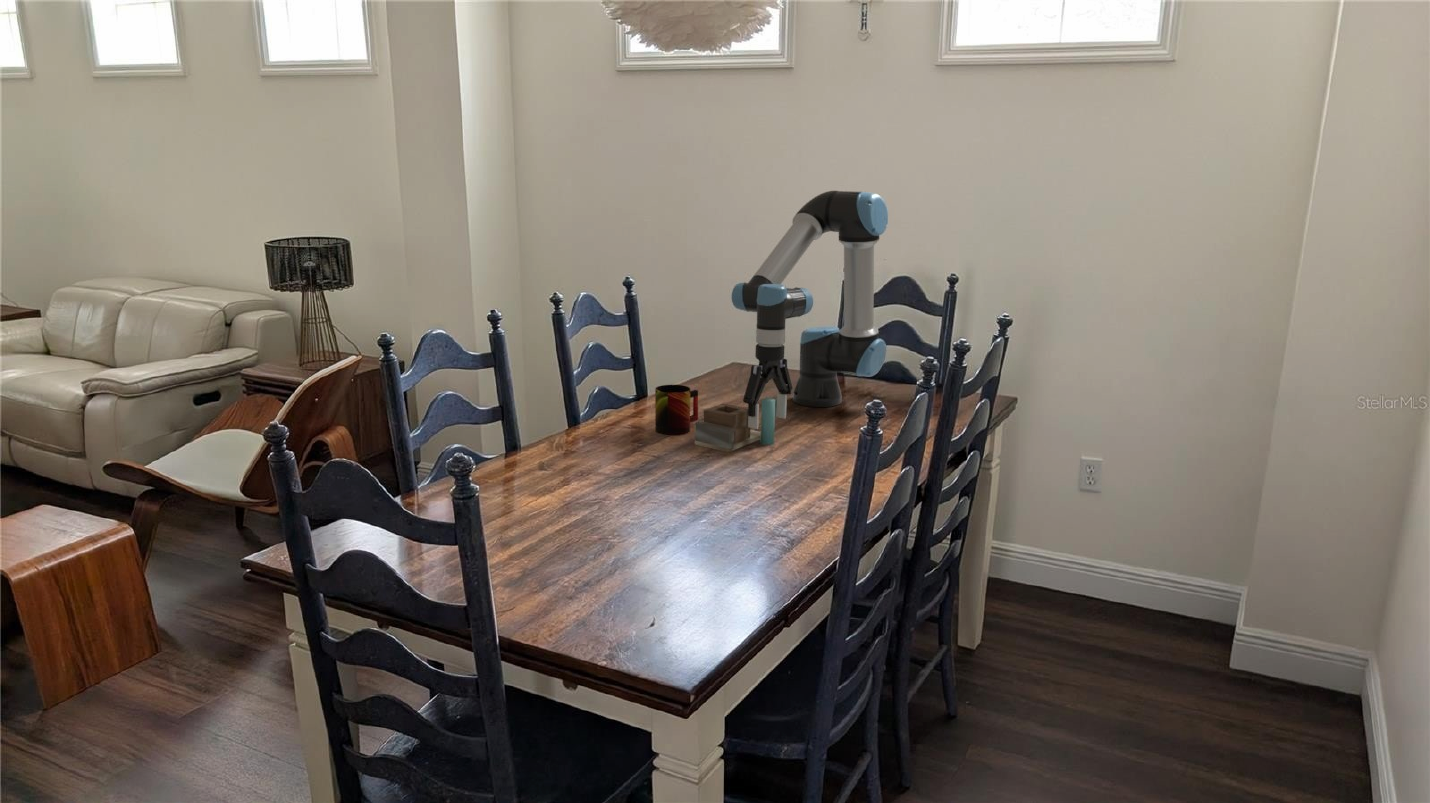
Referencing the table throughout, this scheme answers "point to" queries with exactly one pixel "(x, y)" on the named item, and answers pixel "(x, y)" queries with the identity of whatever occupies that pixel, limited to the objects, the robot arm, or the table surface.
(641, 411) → the table surface
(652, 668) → the table surface
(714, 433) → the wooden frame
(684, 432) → the mug
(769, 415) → the dowel
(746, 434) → the block
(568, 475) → the table surface
